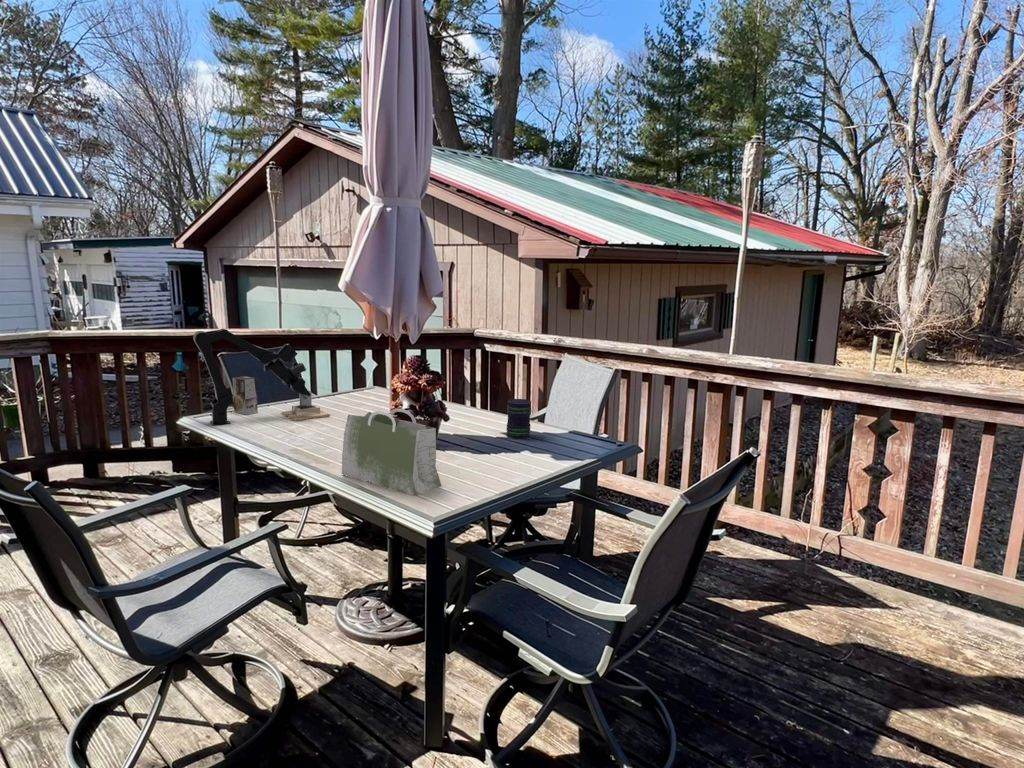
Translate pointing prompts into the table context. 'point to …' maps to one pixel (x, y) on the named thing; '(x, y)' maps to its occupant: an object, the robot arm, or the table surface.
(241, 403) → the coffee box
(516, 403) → the storage jar
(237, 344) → the robot arm
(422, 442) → the grocery bag
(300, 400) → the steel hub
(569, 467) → the table surface
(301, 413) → the socket block
